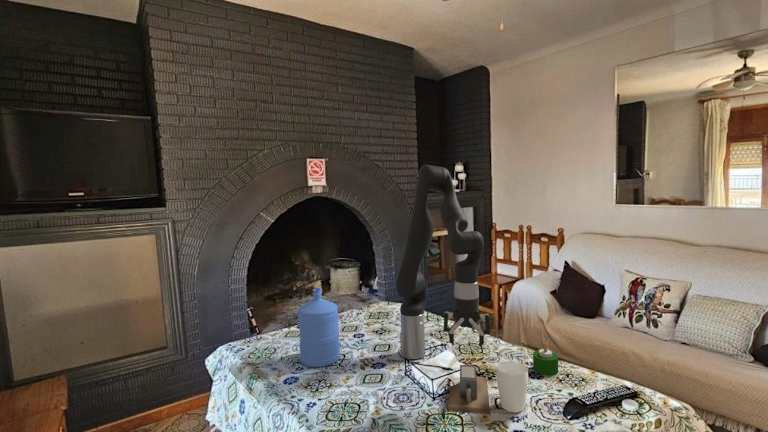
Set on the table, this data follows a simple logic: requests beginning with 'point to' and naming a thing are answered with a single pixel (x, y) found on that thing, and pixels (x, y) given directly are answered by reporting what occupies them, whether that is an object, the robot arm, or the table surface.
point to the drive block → (468, 381)
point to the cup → (512, 385)
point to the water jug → (318, 332)
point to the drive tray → (469, 403)
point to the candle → (545, 362)
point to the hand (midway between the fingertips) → (466, 345)
